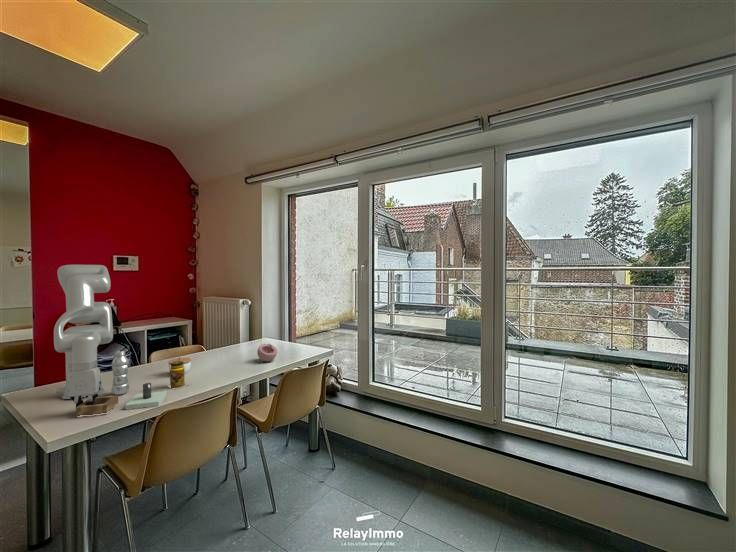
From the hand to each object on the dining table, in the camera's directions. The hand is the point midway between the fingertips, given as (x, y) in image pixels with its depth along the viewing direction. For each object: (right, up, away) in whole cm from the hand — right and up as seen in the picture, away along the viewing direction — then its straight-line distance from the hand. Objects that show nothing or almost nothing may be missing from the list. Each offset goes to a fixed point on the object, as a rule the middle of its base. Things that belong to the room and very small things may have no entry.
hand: (85, 410), depth 128 cm
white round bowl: (+11, 0, +46) cm, 48 cm away
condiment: (+19, 0, +29) cm, 35 cm away
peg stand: (+18, -1, +10) cm, 21 cm away
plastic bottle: (0, 0, +19) cm, 19 cm away
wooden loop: (+4, -1, +1) cm, 4 cm away
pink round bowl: (+51, 0, +72) cm, 88 cm away
